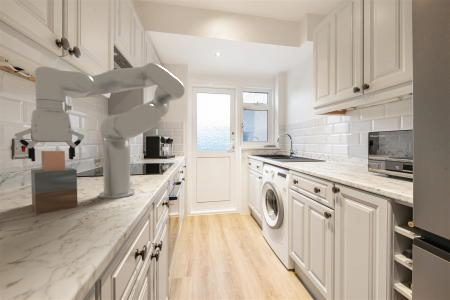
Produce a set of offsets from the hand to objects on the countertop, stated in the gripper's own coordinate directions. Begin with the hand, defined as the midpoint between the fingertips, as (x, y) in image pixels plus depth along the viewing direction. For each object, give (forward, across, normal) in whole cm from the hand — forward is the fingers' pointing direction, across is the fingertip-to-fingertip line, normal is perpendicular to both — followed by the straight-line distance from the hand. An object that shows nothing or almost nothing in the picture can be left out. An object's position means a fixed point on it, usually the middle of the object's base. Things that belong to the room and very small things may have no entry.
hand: (53, 160), depth 68 cm
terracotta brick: (+3, 0, 0) cm, 3 cm away
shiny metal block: (+15, 0, 0) cm, 15 cm away
